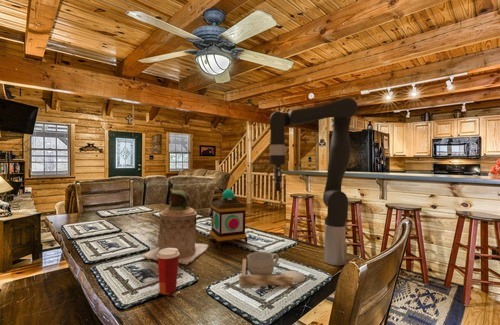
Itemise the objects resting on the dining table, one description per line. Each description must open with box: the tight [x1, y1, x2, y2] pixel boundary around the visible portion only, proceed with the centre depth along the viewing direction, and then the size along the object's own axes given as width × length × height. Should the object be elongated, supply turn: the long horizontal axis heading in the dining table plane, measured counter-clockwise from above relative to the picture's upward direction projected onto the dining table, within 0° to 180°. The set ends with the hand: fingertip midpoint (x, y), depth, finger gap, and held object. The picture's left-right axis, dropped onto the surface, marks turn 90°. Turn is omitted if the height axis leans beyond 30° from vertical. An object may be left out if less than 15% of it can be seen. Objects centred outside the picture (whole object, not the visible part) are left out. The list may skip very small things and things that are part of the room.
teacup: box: [246, 251, 280, 275], centre depth 103 cm, size 14×11×8 cm
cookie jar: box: [141, 188, 209, 265], centre depth 125 cm, size 25×25×32 cm
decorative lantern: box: [208, 188, 248, 248], centre depth 145 cm, size 20×20×30 cm
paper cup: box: [156, 248, 180, 296], centre depth 89 cm, size 8×8×14 cm
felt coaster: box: [279, 270, 306, 284], centre depth 101 cm, size 10×10×1 cm
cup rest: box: [238, 258, 294, 286], centre depth 103 cm, size 20×17×3 cm
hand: (277, 190), depth 120 cm, fingers closed
